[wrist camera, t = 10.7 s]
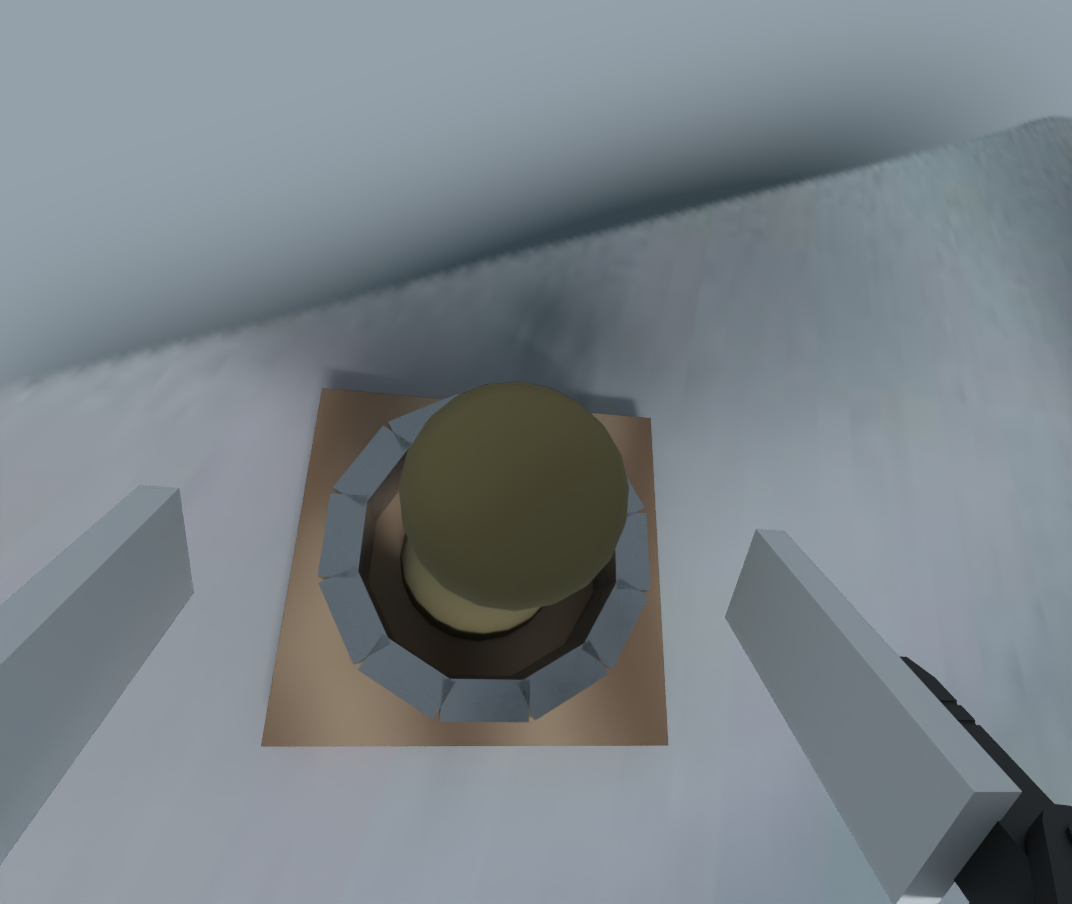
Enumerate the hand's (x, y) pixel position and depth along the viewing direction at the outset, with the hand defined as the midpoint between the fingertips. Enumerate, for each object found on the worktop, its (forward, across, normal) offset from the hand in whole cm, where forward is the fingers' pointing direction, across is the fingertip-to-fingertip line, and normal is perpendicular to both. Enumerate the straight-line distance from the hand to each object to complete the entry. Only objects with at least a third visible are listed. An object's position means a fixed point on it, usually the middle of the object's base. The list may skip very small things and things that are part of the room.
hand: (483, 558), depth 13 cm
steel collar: (+7, +1, -5) cm, 9 cm away
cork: (+7, 0, -5) cm, 9 cm away
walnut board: (+8, +1, -6) cm, 10 cm away
